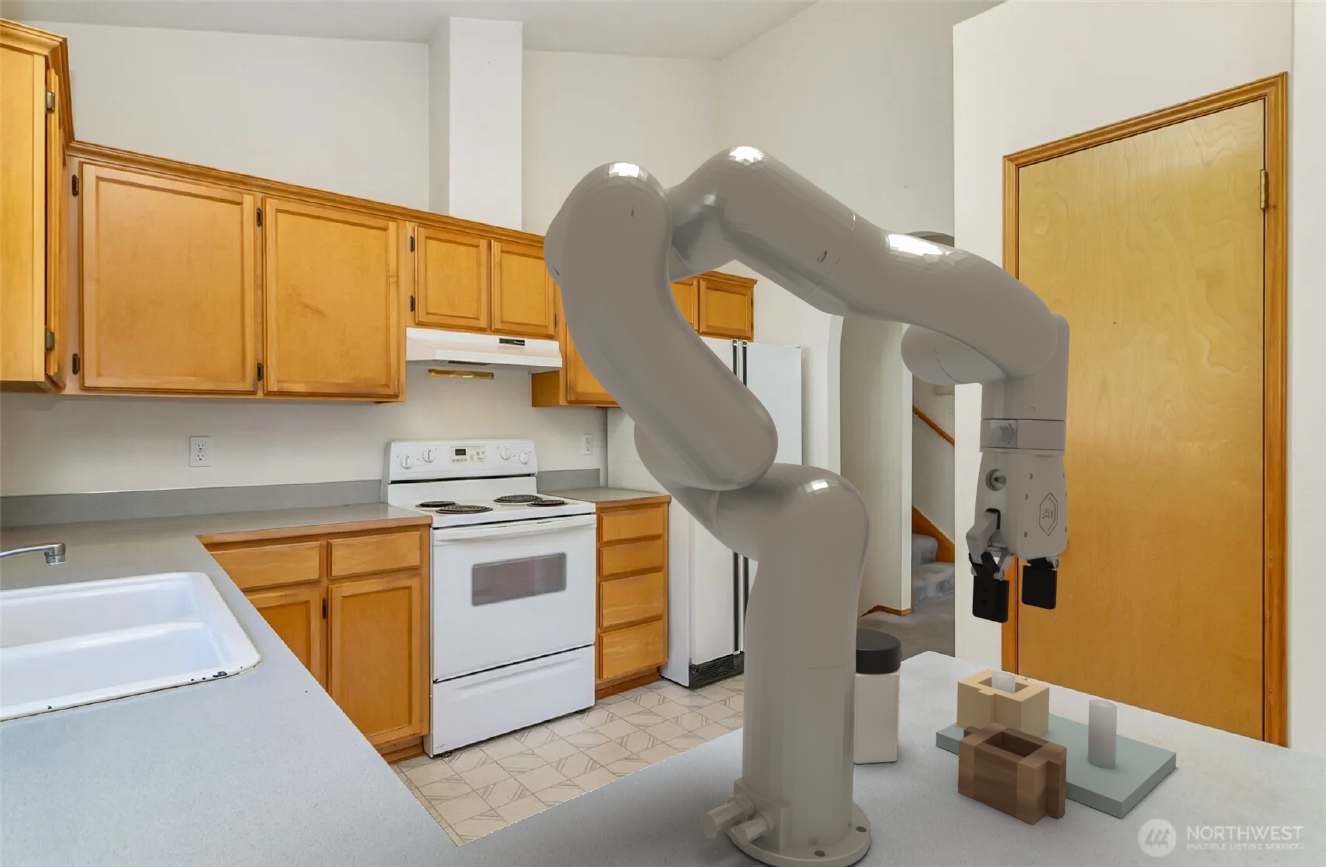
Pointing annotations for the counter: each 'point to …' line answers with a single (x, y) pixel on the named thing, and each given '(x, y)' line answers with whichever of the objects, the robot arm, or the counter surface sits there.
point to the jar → (876, 697)
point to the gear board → (1064, 739)
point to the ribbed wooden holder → (1013, 772)
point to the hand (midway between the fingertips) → (1015, 612)
